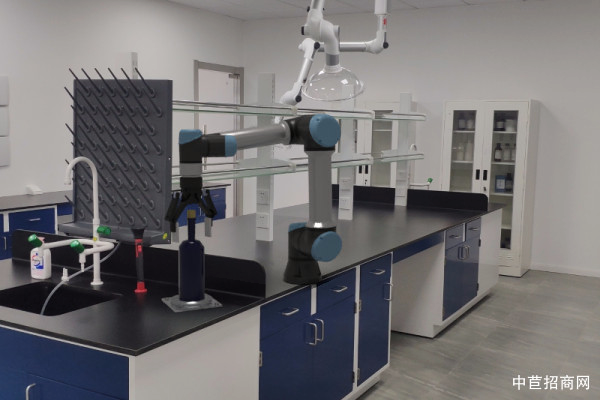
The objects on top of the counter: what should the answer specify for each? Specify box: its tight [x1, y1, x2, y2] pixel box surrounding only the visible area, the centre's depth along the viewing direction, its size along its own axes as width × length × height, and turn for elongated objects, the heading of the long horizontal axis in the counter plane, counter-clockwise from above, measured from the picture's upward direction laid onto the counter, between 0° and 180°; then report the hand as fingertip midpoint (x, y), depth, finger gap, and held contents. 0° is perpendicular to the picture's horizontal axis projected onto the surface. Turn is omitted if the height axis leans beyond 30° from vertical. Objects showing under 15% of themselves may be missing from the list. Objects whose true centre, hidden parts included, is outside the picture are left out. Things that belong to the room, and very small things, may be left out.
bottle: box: [178, 209, 206, 302], centre depth 211 cm, size 9×9×30 cm
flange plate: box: [161, 293, 223, 313], centre depth 212 cm, size 16×16×2 cm
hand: (192, 239), depth 210 cm, fingers open, 13 cm apart
